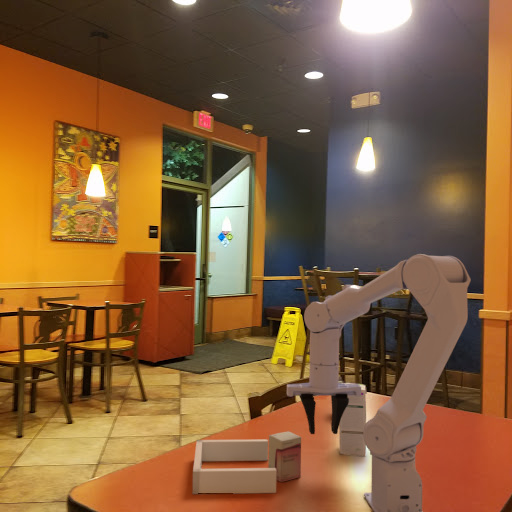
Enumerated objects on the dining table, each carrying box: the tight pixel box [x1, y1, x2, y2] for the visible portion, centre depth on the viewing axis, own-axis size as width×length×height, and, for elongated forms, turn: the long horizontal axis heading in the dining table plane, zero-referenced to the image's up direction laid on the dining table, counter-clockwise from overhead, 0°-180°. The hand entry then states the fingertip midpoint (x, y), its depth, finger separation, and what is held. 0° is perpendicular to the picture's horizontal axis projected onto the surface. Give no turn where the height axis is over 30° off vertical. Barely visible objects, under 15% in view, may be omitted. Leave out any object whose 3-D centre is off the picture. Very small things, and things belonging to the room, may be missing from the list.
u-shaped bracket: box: [192, 438, 277, 495], centre depth 98 cm, size 16×15×4 cm
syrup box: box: [339, 382, 367, 457], centre depth 113 cm, size 6×6×14 cm
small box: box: [267, 431, 302, 483], centre depth 98 cm, size 5×4×8 cm
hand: (323, 432), depth 99 cm, fingers open, 4 cm apart
